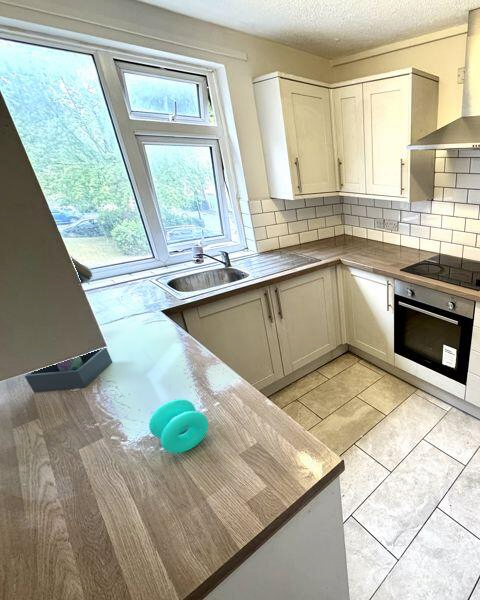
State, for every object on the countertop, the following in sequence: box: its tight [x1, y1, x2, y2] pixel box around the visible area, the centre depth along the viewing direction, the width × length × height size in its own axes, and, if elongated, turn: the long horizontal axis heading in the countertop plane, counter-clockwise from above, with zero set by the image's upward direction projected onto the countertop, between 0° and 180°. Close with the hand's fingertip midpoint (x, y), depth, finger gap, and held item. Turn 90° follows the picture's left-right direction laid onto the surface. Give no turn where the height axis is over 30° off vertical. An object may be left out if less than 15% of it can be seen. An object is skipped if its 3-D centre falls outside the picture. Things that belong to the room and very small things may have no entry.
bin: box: [24, 347, 113, 393], centre depth 104 cm, size 14×14×6 cm
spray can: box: [57, 356, 83, 372], centre depth 101 cm, size 6×6×20 cm
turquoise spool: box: [148, 398, 209, 454], centre depth 80 cm, size 10×10×10 cm
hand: (39, 309), depth 94 cm, fingers open, 8 cm apart
